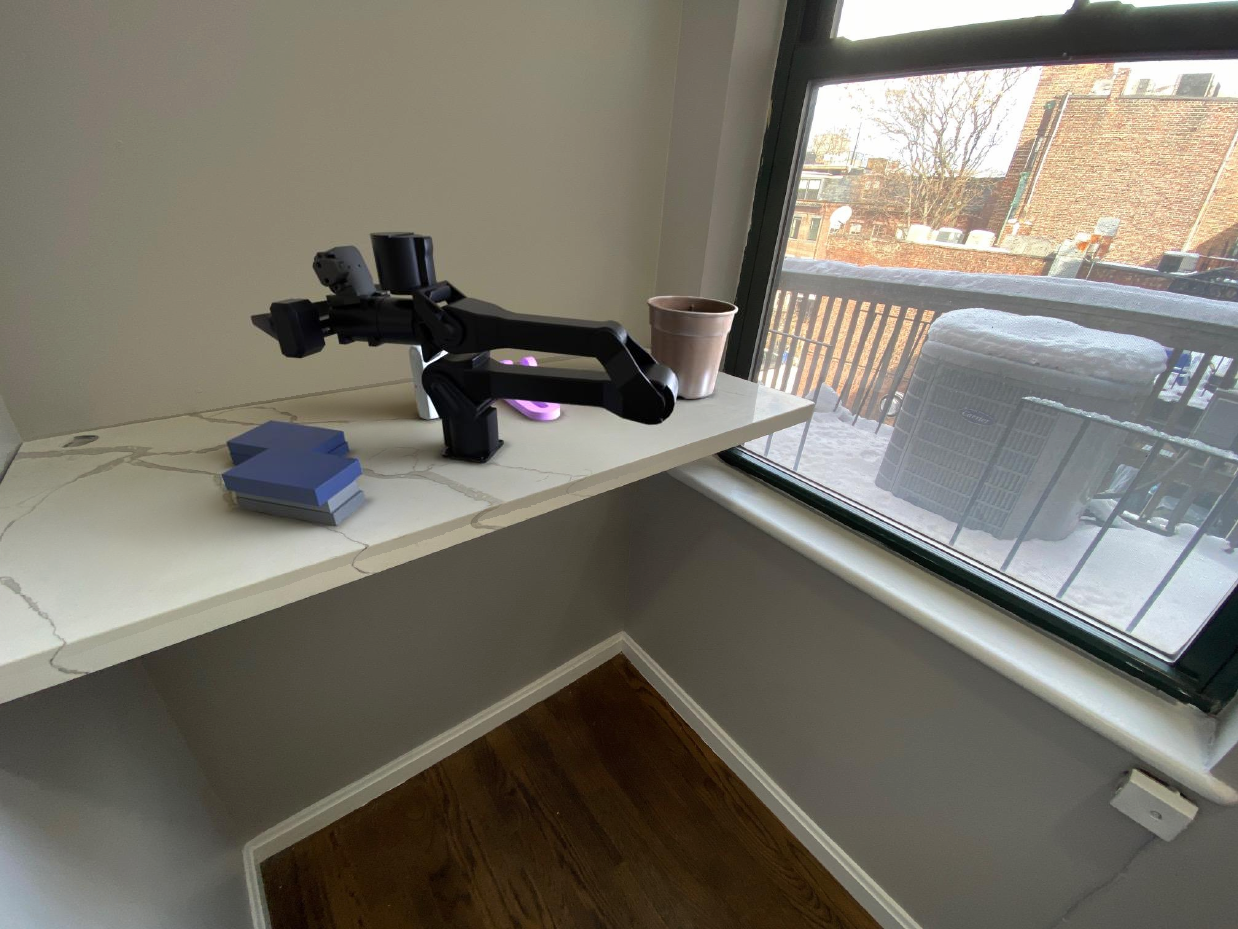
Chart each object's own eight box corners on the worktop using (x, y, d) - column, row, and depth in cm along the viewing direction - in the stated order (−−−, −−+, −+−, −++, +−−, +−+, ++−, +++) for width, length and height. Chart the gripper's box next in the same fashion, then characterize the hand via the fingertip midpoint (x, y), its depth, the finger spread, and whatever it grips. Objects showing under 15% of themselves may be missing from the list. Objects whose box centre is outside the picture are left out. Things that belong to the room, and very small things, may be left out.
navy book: (362, 474, 58) (359, 458, 57) (319, 506, 52) (314, 490, 51) (278, 460, 60) (273, 445, 59) (226, 490, 54) (220, 474, 53)
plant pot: (675, 370, 109) (684, 291, 101) (740, 391, 99) (755, 306, 91) (623, 385, 98) (628, 299, 90) (689, 411, 88) (702, 317, 81)
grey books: (365, 501, 59) (361, 479, 57) (336, 525, 54) (330, 502, 53) (274, 486, 60) (267, 463, 59) (239, 508, 56) (230, 485, 55)
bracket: (500, 396, 89) (497, 358, 86) (528, 391, 92) (527, 354, 89) (536, 423, 80) (535, 381, 77) (566, 416, 84) (566, 375, 80)
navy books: (350, 452, 69) (345, 430, 67) (311, 477, 62) (305, 454, 61) (277, 440, 70) (271, 419, 69) (233, 464, 64) (225, 441, 63)
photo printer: (428, 422, 78) (417, 343, 72) (413, 414, 81) (401, 337, 75) (483, 405, 85) (478, 332, 79) (468, 398, 88) (461, 326, 82)
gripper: (419, 247, 69) (316, 242, 71) (325, 257, 52) (194, 251, 55) (430, 330, 74) (333, 323, 76) (348, 363, 57) (227, 354, 60)
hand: (281, 313), depth 66 cm, fingers open, 9 cm apart
